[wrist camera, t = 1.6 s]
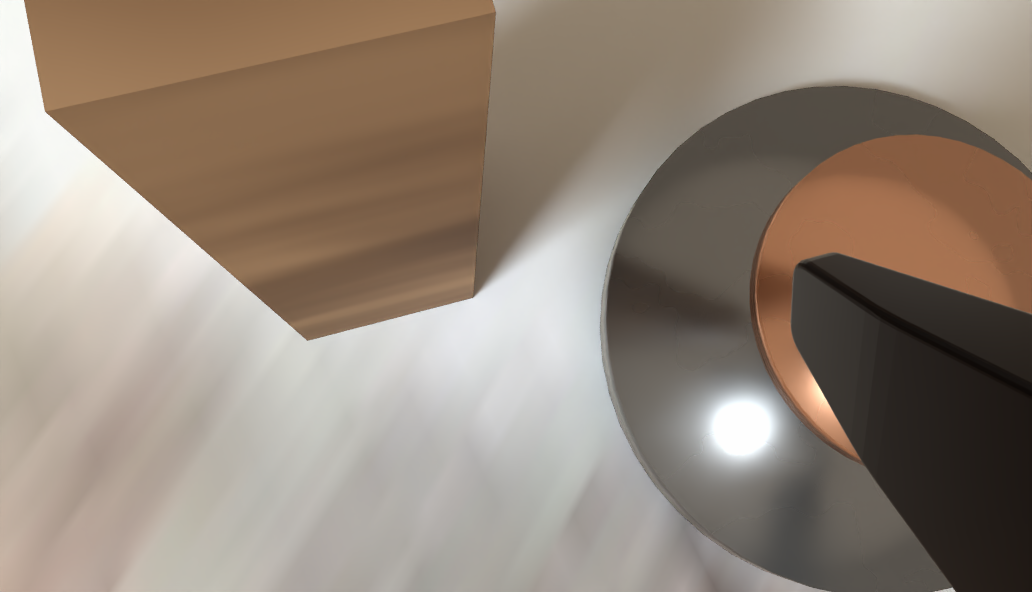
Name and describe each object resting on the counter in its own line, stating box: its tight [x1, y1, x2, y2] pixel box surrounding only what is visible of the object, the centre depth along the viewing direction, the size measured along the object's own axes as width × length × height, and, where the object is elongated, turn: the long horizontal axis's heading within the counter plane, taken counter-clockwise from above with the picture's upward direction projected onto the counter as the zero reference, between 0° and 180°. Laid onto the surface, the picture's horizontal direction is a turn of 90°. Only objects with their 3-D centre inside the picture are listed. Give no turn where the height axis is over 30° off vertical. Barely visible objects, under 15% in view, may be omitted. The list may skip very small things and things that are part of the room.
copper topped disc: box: [600, 86, 1032, 592], centre depth 19 cm, size 12×12×4 cm
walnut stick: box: [24, 0, 496, 341], centre depth 14 cm, size 4×4×13 cm
